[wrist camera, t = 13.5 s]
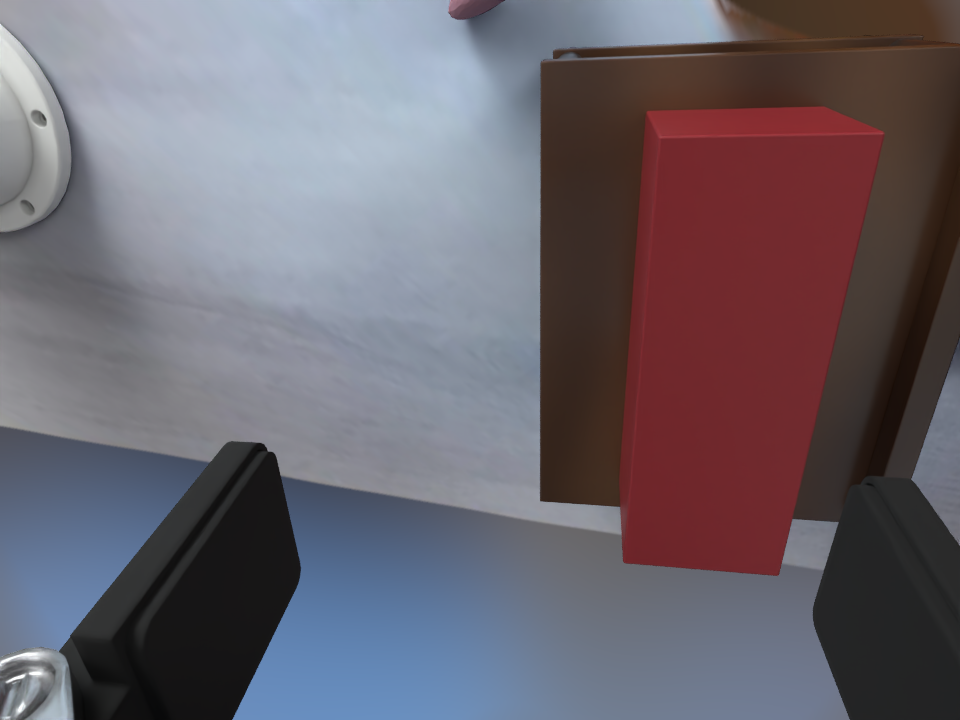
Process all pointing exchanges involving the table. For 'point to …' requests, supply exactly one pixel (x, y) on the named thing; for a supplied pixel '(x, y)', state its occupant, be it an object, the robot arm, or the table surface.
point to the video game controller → (470, 8)
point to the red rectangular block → (734, 325)
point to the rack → (875, 275)
